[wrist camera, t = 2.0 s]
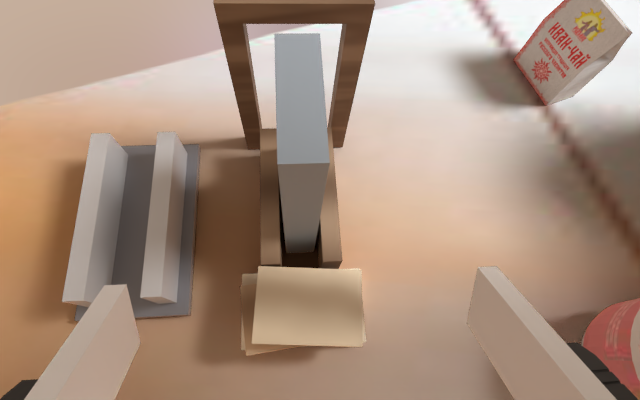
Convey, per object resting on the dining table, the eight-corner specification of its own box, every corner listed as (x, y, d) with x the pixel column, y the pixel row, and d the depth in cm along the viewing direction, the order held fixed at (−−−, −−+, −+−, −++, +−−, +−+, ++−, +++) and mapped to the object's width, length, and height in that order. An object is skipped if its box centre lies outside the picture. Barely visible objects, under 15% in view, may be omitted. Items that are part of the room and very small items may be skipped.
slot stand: (190, 315, 33) (173, 309, 28) (79, 321, 32) (44, 316, 28) (200, 148, 38) (187, 121, 34) (106, 150, 38) (81, 123, 33)
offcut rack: (363, 348, 33) (431, 345, 16) (243, 356, 32) (188, 361, 16) (343, 134, 40) (376, -15, 24) (245, 136, 39) (210, -16, 23)
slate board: (313, 252, 35) (329, 162, 19) (286, 253, 35) (277, 164, 18) (309, 172, 38) (319, 33, 21) (284, 173, 38) (274, 33, 21)
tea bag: (539, 51, 46) (601, -25, 36) (572, 96, 44) (647, 28, 34) (513, 59, 45) (569, -16, 36) (545, 106, 43) (614, 38, 34)
